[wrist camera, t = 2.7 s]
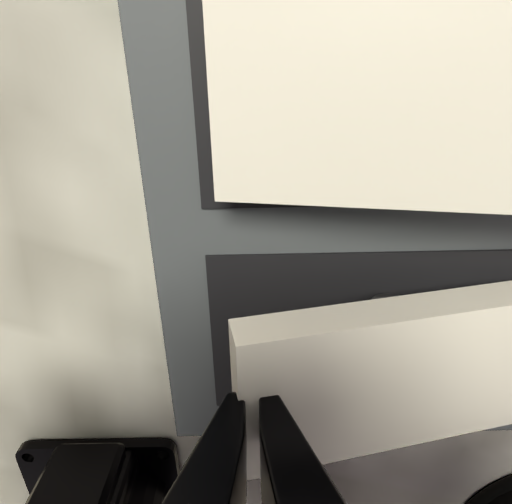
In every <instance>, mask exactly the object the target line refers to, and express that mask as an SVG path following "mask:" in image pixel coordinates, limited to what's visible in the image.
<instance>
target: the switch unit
mask: <svg viewBox="0 0 512 504" xmlns="http://www.w3.org/2000/svg"><path fill="white" fill-rule="evenodd" d="M118 7H119V15H120V22H121V29H122V37H123V44H124V51H125V59H126V66H127V73H128V80H129V88H130V95H131V102H132V110H133V117H134V124H135V132H136V139H137V146H138V154H139V161H140V168H141V175H142V183H143V190H144V197H145V205H146V212H147V219H148V227H149V234H150V241H151V249H152V256H153V263H154V270H155V278H156V285H157V292H158V300H159V307H160V314H161V322H162V329H163V336H164V343H165V351H166V358H167V365H168V373H169V380H170V387H171V395H172V402H173V409H174V417H175V424H176V431H177V436H202V434H203V433H204V431H205V429H206V428H207V426H208V424H209V422H210V421H211V419H212V417H213V416H214V414H215V412H216V411H217V409H218V407H219V406H220V404H221V402H222V401H223V399H224V397H225V396H226V394H227V393H228V392H232V381H231V363H230V344H229V326H228V319H233V318H240V317H248V316H255V315H262V314H270V313H277V312H284V311H292V310H299V309H306V308H314V307H321V306H328V305H336V304H343V303H350V302H358V301H365V300H371V299H372V297H374V296H375V295H378V294H383V293H390V294H396V295H400V296H402V295H409V294H416V293H424V292H431V291H438V290H446V289H453V288H460V287H468V286H475V285H482V284H490V283H497V282H504V281H512V215H503V214H481V213H459V212H437V211H415V210H393V209H371V208H349V207H327V206H305V205H283V204H261V203H238V202H216V201H215V198H214V182H213V166H212V150H211V134H210V118H209V102H208V86H207V70H206V54H205V37H204V21H203V5H202V0H118ZM487 430H512V424H510V425H505V426H500V427H496V428H491V429H486V430H482V431H487Z"/></svg>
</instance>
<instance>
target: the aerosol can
mask: <svg viewBox="0 0 512 504" xmlns="http://www.w3.org/2000/svg"><path fill="white" fill-rule="evenodd" d="M466 504H512V475H509V476H506V477H504V478H502V479H500V480H498V481H496V482H494V483H492V484H490V485H489V486H487V487H486V488H484V489H483V490H481V491H480V492H478V493H477V494H476V495H475V496H474V497H472V498H471V499H470V500H469V501H468V502H467V503H466Z"/></svg>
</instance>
